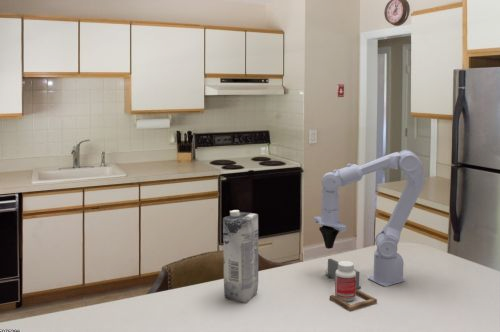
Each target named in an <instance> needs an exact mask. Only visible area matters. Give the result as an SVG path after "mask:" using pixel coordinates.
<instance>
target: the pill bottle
mask: <svg viewBox="0 0 500 332" xmlns="http://www.w3.org/2000/svg"><path fill="white" fill-rule="evenodd" d="M337 262H338V268H339V269H337V270H336V272H335V279H334V296H336V297H337V298H339V299H341V300H343V301H345V302H346V303H348V302H353V301H354V300H355V299H356V295H355V292H356V272H355V271H354V270H353V269H355V265H354V263H353V262H352V261H348V260H341V261H337Z"/></svg>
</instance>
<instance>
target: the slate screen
mask: <svg viewBox="0 0 500 332" xmlns="http://www.w3.org/2000/svg"><path fill="white" fill-rule="evenodd" d="M338 262H339V261H337V260H335V259H333V258H328V259H327V273H325V277H326V278H327V279H330V278H331V279H333V280H335V272H336V270H337V269H339V268H338ZM353 270H354V271H355V272H356V289H357V290H359V291H360V290H361V289H362V286H361V285H360V271H359V270H356V269H355V268H354V269H353Z"/></svg>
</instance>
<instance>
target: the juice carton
mask: <svg viewBox="0 0 500 332" xmlns="http://www.w3.org/2000/svg"><path fill="white" fill-rule="evenodd" d="M222 239H223V241H222V243H223V244H222V245H223V246H222V249H223V290H224V298H225V299H226V300H229V301H235V302H239V303H244V304H245V303H247V302H248V301H249V300H250V299H251V298H253V297H254V296H255V295H256V294H257V292H258V290H259V214H258V213H255V212H254V213H252V212H244V211H240V210H239V209H233V210H229V215H228V216H224V217H223V218H222Z"/></svg>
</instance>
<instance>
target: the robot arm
mask: <svg viewBox="0 0 500 332" xmlns="http://www.w3.org/2000/svg"><path fill="white" fill-rule="evenodd" d="M398 167H399V168H398ZM423 168H424V165H423V163H422V161H421V159H420V158H419V156H418V155H417V154H415V153H414V152H412V151H411V150H409V149H403V150H401V151H396V152H392V153H390V154H387V155H384V156H381V157H379V158H376V159H374V160H372V161H371V160H370V161H369V162H367V163H364V164H362V165H358V164H355V163H353V164H351V163H347V164H346V166H345V167H342V168H339V169H336V168H335V169H333V172H331V171H329V172H326V173H324V175H323V176H322V179H321V186H322V189H321V193H322V194H321V203H320V204H321V214H320V215H321V216H319V215H318V216H313V217H314V218H313V223H315V224H319V226H320V227H319V231H320V233H321V235H322V238H323V242H324V246H325V248H326V249H328V250H329V249H333V248H334V244H335V241H336V238H337V236H338V234H339V233H346V232H347V228H348V227H347V225H345V224H343V223H342V222H340V221H339V214H340V211H339V207H340V206H339V205H340V195H339V188H340V187H345V186H348V185H352V184H353V183H357V182H361V180H362V178H363V176H365V175H368V174H370V173H375V172H377V171H381V170H385V169H393V170H398V169H400V170H401V171H402V172H403V174H404V175H403V176H404V177H405V179H406V184H405V186H404V188H403V190H402V192H401V194H400V197H399V199H397V200H398V201H397V203H396V205H395V206H394V209H393V211H392V213H391V215H390V217H389V219H388V221H387V223H386V224H385V225H384V226H383V228H382V230H381V231H380V232H379V233H377V235H376V236H375V238H374V243H375V245H376V250H375V251H374V255H373V275H371V276H368V277H367V280H369V281H372V282H374V283H376V284H378V285H380V286H382V287H388V286H393V285H395V284H398V283H404V282H405V278H404V264H405V263H404V258H403V256H402V255H401V254H400V253H398V245H399V242H400V238H401V233H402V230H403V228H404V226H405V224H406V223H407V220H408V218H409V216H410V214H411V212H412V210H413V208H414V206H415V204H416V202H417V200H418V198H419V197H420V194H421V192H422V190H423V188H424V185H425V175H424V169H423Z"/></svg>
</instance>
